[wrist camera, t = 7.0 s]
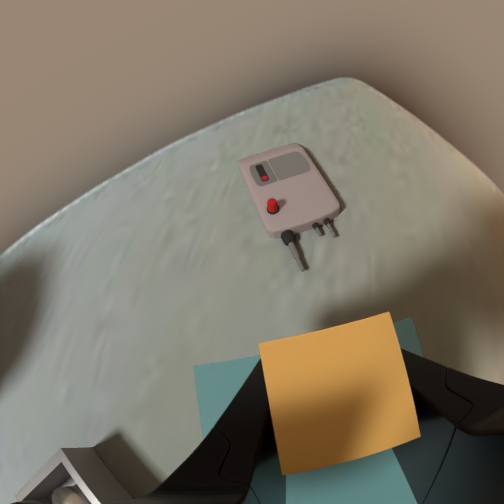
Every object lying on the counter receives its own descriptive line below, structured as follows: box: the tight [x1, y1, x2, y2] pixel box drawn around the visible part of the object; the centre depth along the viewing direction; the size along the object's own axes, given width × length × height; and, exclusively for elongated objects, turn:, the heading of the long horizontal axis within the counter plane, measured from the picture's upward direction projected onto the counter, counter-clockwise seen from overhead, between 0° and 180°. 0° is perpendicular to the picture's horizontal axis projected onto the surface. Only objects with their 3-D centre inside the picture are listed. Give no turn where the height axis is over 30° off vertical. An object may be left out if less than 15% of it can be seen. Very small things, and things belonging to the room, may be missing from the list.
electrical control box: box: [237, 143, 340, 271], centre depth 26 cm, size 7×16×3 cm, turn 18°
